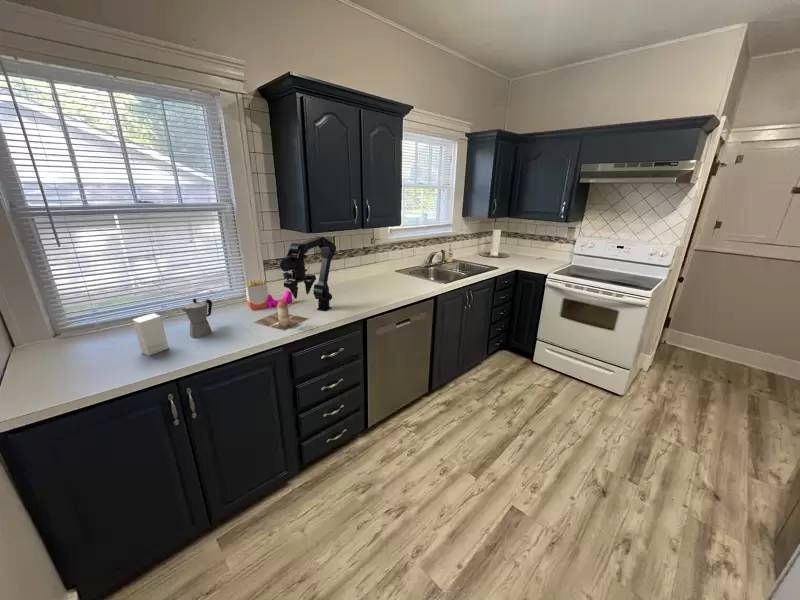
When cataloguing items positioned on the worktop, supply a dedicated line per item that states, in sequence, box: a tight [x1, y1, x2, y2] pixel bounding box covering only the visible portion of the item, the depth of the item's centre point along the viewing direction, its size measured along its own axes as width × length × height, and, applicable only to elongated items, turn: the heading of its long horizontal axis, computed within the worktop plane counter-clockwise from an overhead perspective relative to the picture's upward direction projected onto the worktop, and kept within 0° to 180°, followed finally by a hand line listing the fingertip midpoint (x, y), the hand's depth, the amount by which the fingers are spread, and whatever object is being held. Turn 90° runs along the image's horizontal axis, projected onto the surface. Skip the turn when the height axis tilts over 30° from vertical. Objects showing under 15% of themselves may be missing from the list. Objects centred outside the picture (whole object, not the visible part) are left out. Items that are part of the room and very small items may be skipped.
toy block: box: [267, 290, 294, 309], centre depth 196 cm, size 15×6×8 cm, turn 133°
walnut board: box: [252, 311, 310, 332], centre depth 172 cm, size 18×22×1 cm
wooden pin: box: [276, 301, 290, 328], centre depth 163 cm, size 5×5×14 cm
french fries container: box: [245, 278, 269, 311], centre depth 187 cm, size 5×11×18 cm, turn 133°
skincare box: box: [132, 313, 169, 356], centre depth 138 cm, size 8×7×16 cm
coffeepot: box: [182, 298, 213, 339], centre depth 155 cm, size 15×9×18 cm, turn 162°
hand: (301, 296), depth 173 cm, fingers open, 9 cm apart
